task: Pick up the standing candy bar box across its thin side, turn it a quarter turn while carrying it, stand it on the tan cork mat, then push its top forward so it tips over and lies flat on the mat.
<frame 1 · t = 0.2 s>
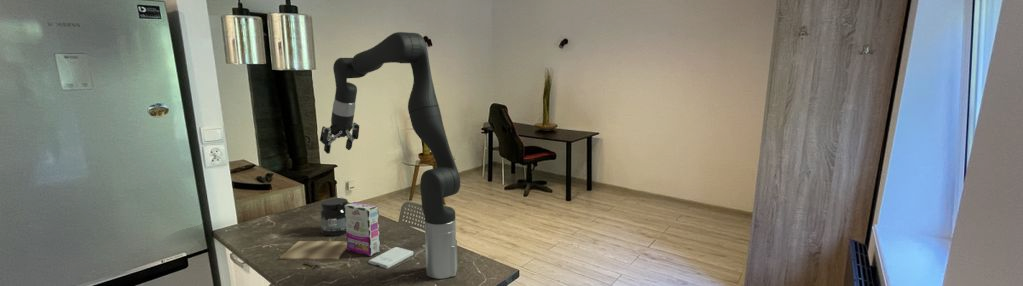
hand: (337, 150, 176), 31 cm above the countertop, tool tilted 20°, fingers open, 8 cm apart
candy bar box: (363, 251, 162), on the countertop
cork mat: (317, 250, 162), on the countertop
supplement container: (336, 232, 180), on the countertop
external hard drive: (391, 260, 157), on the countertop
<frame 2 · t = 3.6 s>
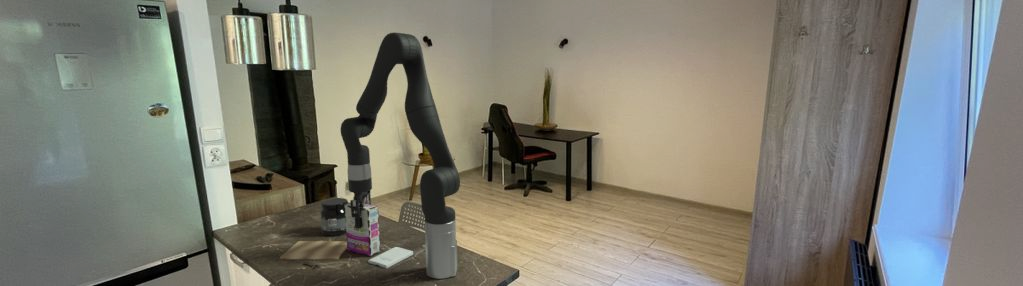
hand: (362, 223, 161), 10 cm above the countertop, tool pointing down, fingers closed on candy bar box, 6 cm apart
candy bar box: (363, 251, 162), on the countertop, touching gripper
everything else where it was.
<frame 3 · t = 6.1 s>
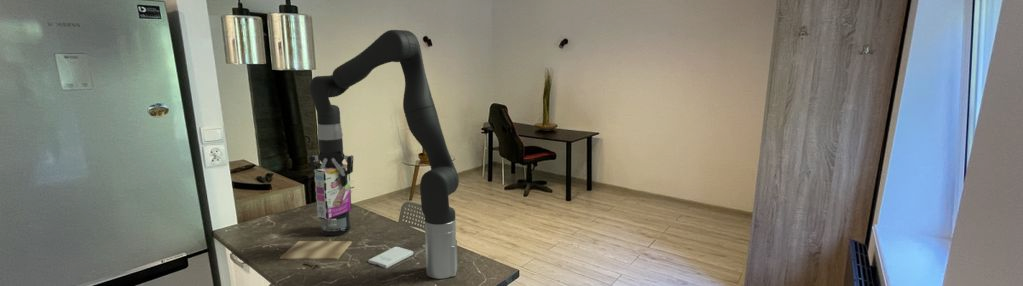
hand: (333, 186, 158), 23 cm above the countertop, tool pointing down, fingers closed on candy bar box, 6 cm apart
candy bar box: (335, 215, 160), point 13 cm above the countertop, touching gripper
everything else where it was.
when the fingers open (11 cm above the countertop, at t = 8.7 s): candy bar box stays where it is, resting on cork mat.
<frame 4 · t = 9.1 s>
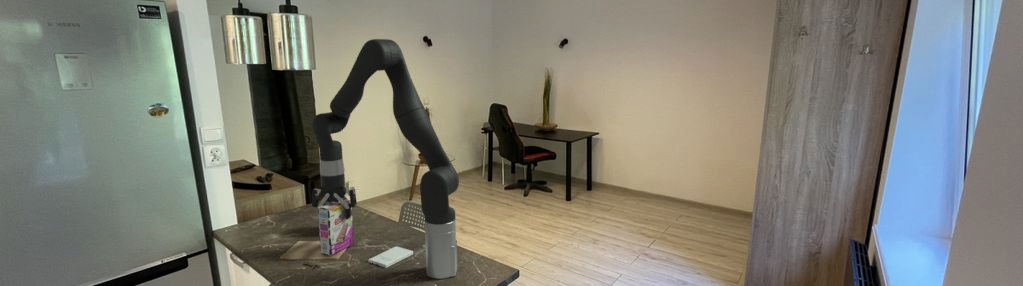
hand: (335, 218, 160), 12 cm above the countertop, tool pointing down, fingers open, 8 cm apart
candy bar box: (338, 250, 162), resting on cork mat
everything else where it was.
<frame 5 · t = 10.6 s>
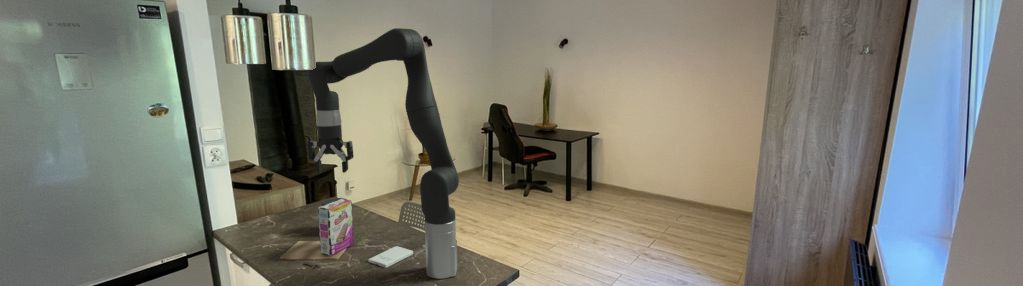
hand: (332, 172, 157), 28 cm above the countertop, tool pointing down, fingers open, 8 cm apart
nothing on the countertop moved.
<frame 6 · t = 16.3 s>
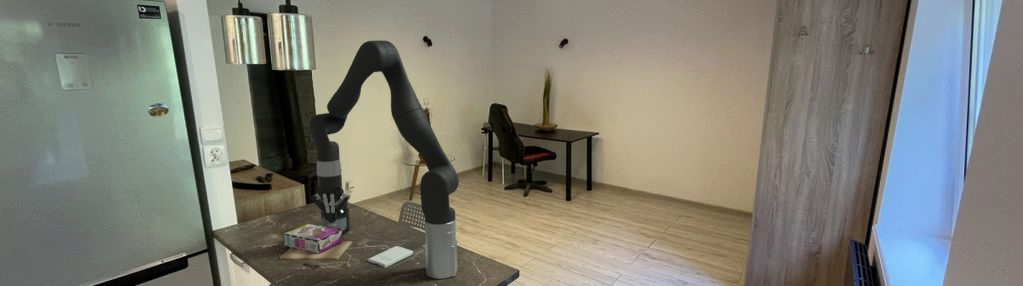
hand: (332, 222, 161), 10 cm above the countertop, tool pointing down, fingers closed
candy bar box: (331, 241, 162), point 3 cm above the countertop, touching cork mat
everything else where it was.
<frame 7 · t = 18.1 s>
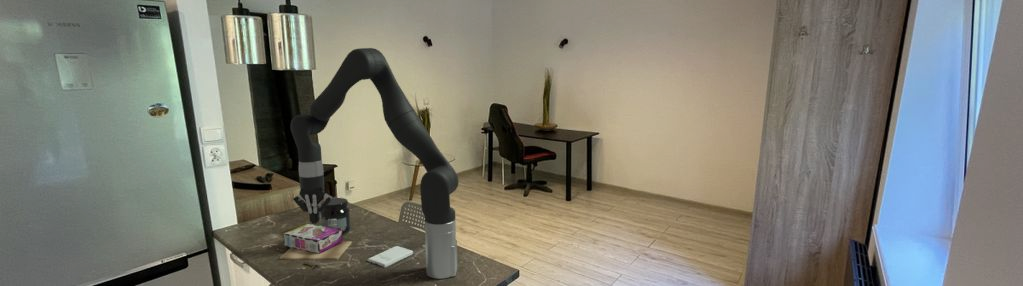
hand: (315, 223, 160), 10 cm above the countertop, tool pointing down, fingers closed
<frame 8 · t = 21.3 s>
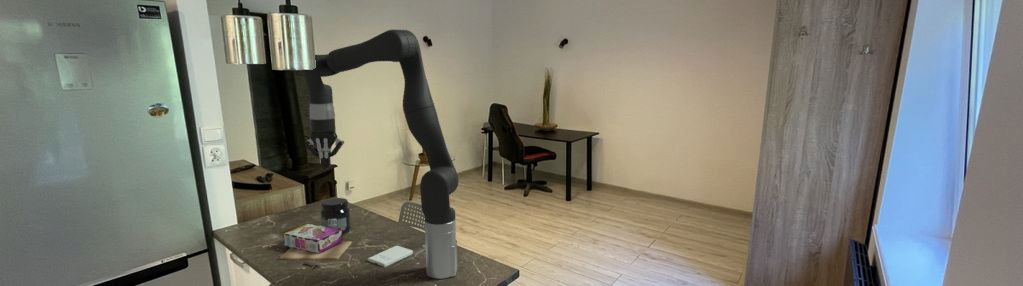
hand: (326, 168, 157), 29 cm above the countertop, tool pointing down, fingers closed
at the end: candy bar box tilted 91°; candy bar box inside the target area (8.5 cm from its centre), point 3.1 cm above the countertop; the gripper is holding nothing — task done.
